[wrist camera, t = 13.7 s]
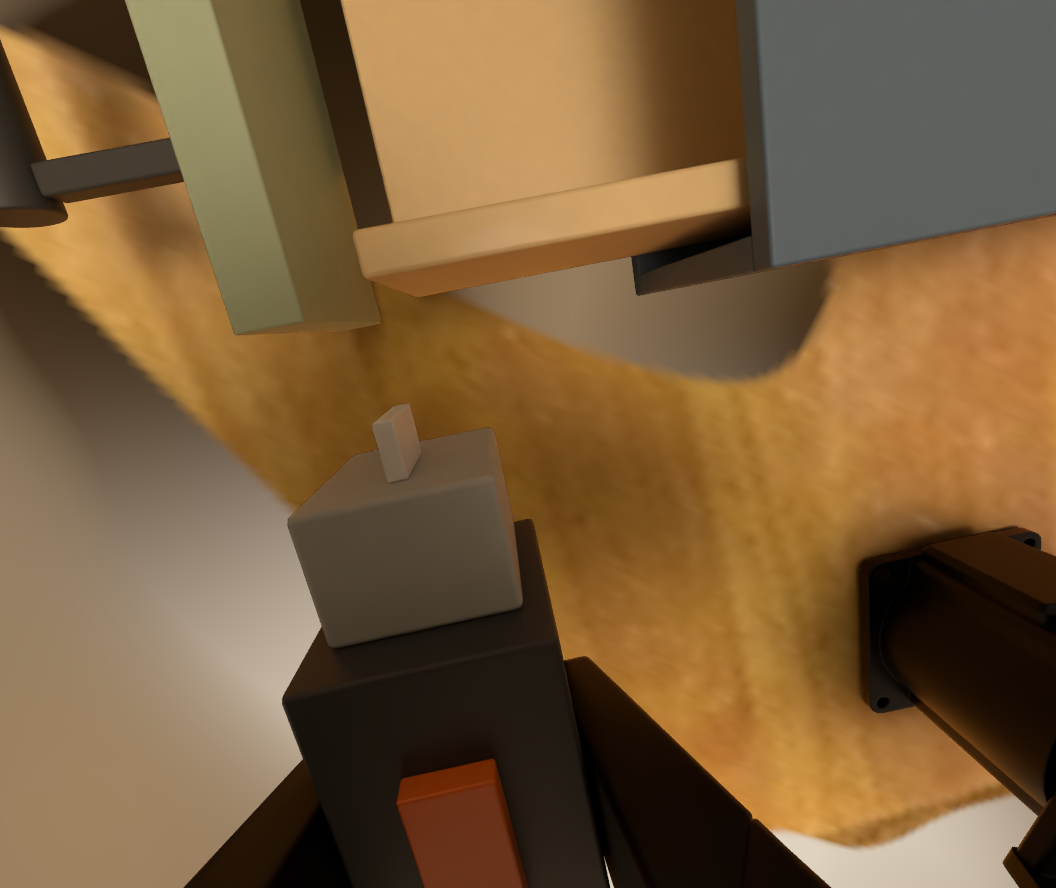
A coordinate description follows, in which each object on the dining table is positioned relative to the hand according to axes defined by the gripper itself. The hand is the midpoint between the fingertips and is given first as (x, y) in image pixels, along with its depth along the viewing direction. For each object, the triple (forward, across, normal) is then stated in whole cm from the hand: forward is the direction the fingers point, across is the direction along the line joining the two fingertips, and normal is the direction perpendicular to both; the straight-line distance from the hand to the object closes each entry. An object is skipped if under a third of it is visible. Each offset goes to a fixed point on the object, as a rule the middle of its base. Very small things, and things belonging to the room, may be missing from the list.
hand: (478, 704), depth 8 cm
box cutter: (+1, 0, 0) cm, 1 cm away
